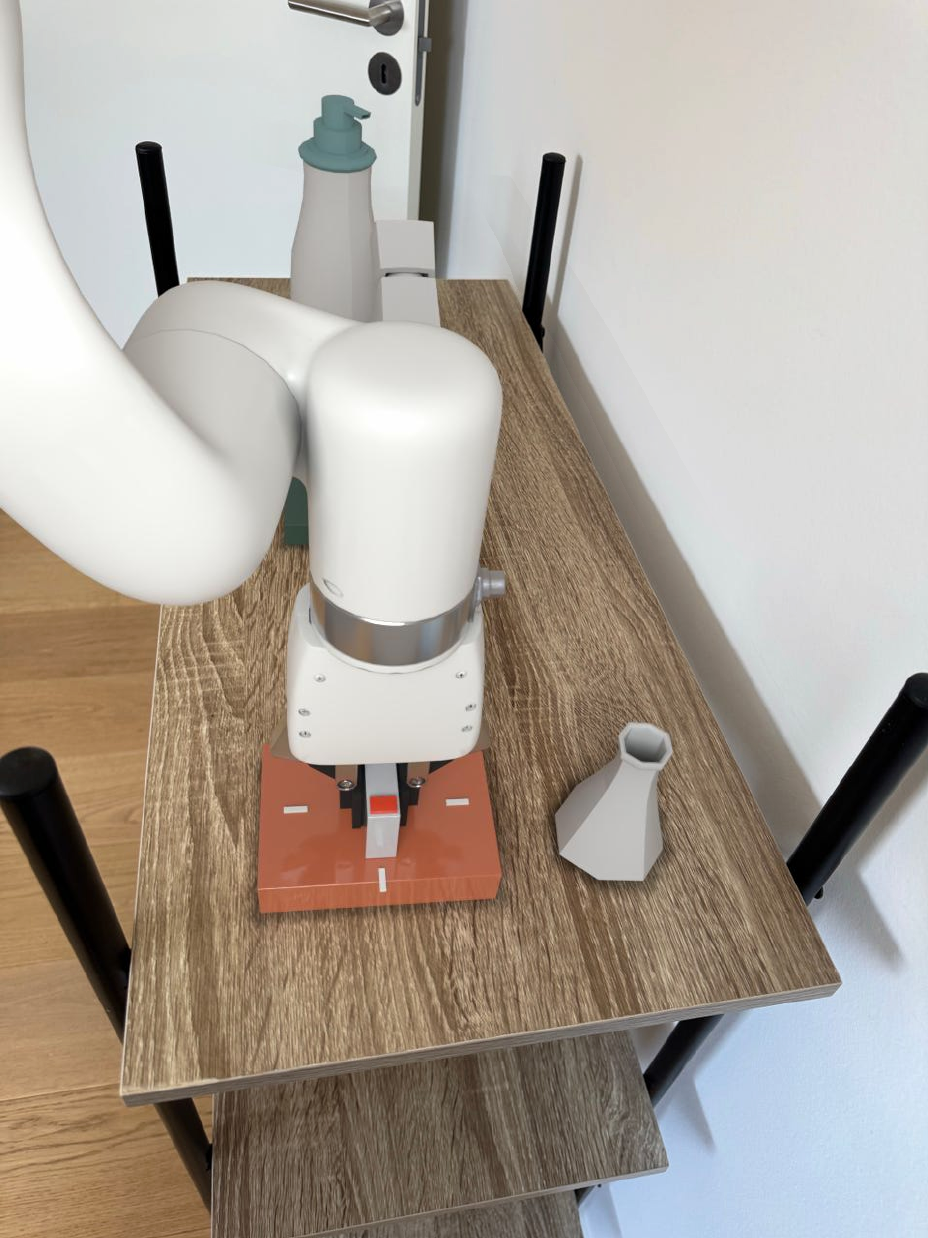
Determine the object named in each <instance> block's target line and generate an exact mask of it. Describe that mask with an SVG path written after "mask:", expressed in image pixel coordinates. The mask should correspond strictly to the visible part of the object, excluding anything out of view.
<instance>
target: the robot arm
mask: <svg viewBox="0 0 928 1238" xmlns="http://www.w3.org/2000/svg"><path fill="white" fill-rule="evenodd" d="M24 59H25V56H24V33H23V18H22V10H21V3H20V0H0V509H1V510H2V511H3V512H5V514H7V515H8V516H9V517H10V518H11V519H12V520H14V522H16V523H17V524H18V525H19V526H20V527H21V528H22V529H24V530H25V531H26V532H28V533H29V535H31V536H32V537H33V538H35V539H36V540H37V541H38V542H40V543H41V544H42V545H44V546H45V547H46V548H47V549H48V550H49V551H51V552H52V553H54V554H55V555H56V556H58V557H59V558H60V559H62V560H63V561H64V562H66V563H67V564H68V565H70V566H71V567H72V568H74V569H76V570H77V571H79V572H80V573H81V574H83V575H85V576H87V577H88V578H90V579H91V580H93V581H96V582H97V583H98V584H100V585H102V586H104V587H106V588H108V589H110V590H112V591H115V592H117V593H118V594H122V595H123V596H126V597H129V598H131V599H133V600H134V599H135V600H137V601H140V602H144V603H148V604H153V605H160V606H169V607H188V606H189V607H190V606H197V605H198V606H199V605H202V604H205V603H209V602H213V601H216V600H219V599H222V598H223V597H225V596H226V595H229V594H230V593H232V592H234V591H235V590H237V589H238V588H240V587H241V586H242V585H243V584H244V583H246V581H248V579H249V578H251V577H252V575H254V573H255V572H256V571H257V570H258V568H259V566H260V565H261V563H262V562H263V560H264V559H265V557H266V555H267V554H268V552H269V551H270V548H271V545H272V542H273V539H274V537H275V534H276V532H277V531H276V530H277V527H278V525H279V522H280V519H281V516H282V513H283V510H284V508H285V501H286V497H287V494H288V490H289V487H290V483H291V479H292V476H293V477H296V478H298V479H299V480H301V482H302V483H303V484H304V485H305V487H306V490H307V497H308V522H309V545H308V557H309V558H308V559H309V561H308V563H309V567H308V568H309V570H308V571H309V581H308V582H306V583H305V584H304V585H303V586H302V587H301V588H300V590H299V591H298V593H297V594H296V596H295V600H294V604H293V607H292V611H291V617H290V620H289V627H288V628H289V629H288V636H287V645H286V646H287V647H286V681H285V682H286V684H285V685H286V687H285V688H286V691H285V692H286V693H285V694H286V708H285V710H284V712H283V713H282V714H281V717H280V718H279V720H278V722H277V723H276V724H275V726H274V728H273V729H272V731H271V733H270V740H269V741H270V742H269V744H270V754H271V756H273V757H275V758H279V759H285V760H290V761H295V762H300V763H302V762H306V763H308V765H309V766H310V767H312V768H313V769H315V770H317V771H319V772H321V773H323V774H325V775H327V776H329V777H331V778H333V779H335V786H336V788H337V789H339V793H340V809H351V813H352V829H356V828H361V826H364V816H365V796H366V791H365V772H364V764H382V763H396V768H397V780H398V792H399V804H400V825H399V826H406V823H407V814H408V806H414V805H418V799H419V791H420V787H422V786H424V785H426V784H427V782H428V776H429V774H431V773H432V772H434V771H436V770H438V769H439V768H441V767H443V766H445V765H446V764H448V763H450V762H452V761H453V760H454V759H455V758H459V757H462V756H464V755H468V754H471V753H475V752H479V751H482V752H483V751H485V750H488V749H490V748H491V746H492V742H491V736H490V735H491V734H490V730H489V725H488V722H487V721H486V719H485V717H484V715H483V709H484V707H483V705H484V692H485V674H486V673H485V672H486V671H485V670H486V668H485V667H486V663H485V662H486V661H485V657H486V656H485V655H486V654H485V653H486V652H485V651H486V650H485V633H484V632H485V631H484V630H485V627H484V626H485V625H484V613H483V606H482V602H489V600H490V599H504V598H505V594H506V574H505V571H504V569H489V567H487V566H481V561H480V556H481V549H482V543H483V535H484V530H485V524H486V517H487V511H488V506H489V505H488V504H489V497H490V493H491V485H492V479H493V474H494V466H495V462H496V455H497V448H498V442H499V436H500V429H501V425H502V424H501V422H502V415H503V403H504V395H503V388H502V384H501V380H500V376H499V374H498V371H497V369H496V368H495V366H494V364H493V363H492V361H491V359H490V358H489V357H488V355H487V354H486V353H485V352H484V351H483V350H482V349H481V348H480V347H479V346H477V345H476V344H474V343H473V342H472V341H471V340H469V339H467V338H466V337H464V336H463V335H461V334H459V333H457V332H455V331H453V330H450V329H447V328H445V327H442V326H441V327H439V326H435V325H432V324H427V323H421V322H415V321H404V320H388V321H377V322H371V323H363V322H360V321H356V320H352V319H349V318H345V317H342V316H338V315H335V314H332V313H329V312H326V311H323V310H320V309H316V308H313V307H310V306H307V305H304V304H301V303H298V302H295V301H292V300H290V298H286V297H284V296H280V295H277V294H275V293H272V292H268V291H266V290H262V289H259V288H255V287H252V286H249V285H244V284H240V283H236V282H230V281H222V280H216V279H215V280H214V279H213V280H210V279H209V280H194V281H189V282H185V283H181V284H179V285H176V286H174V287H171V288H170V289H168V290H166V291H165V292H163V294H161V295H159V296H158V297H157V298H156V299H154V300H153V301H152V303H150V305H149V306H148V307H147V309H146V310H145V311H144V313H143V314H142V315H141V317H139V320H138V322H137V323H136V325H135V326H134V328H133V329H132V332H131V334H130V335H129V337H127V340H126V342H125V344H124V345H123V347H122V348H121V347H120V346H119V344H118V343H117V342H116V340H115V339H114V338H113V336H112V335H111V334H110V333H109V330H107V329H106V327H105V326H104V324H103V323H102V321H101V320H100V318H99V316H98V315H97V314H96V312H95V310H94V309H93V307H92V306H91V304H90V303H89V301H88V299H87V298H86V297H85V295H84V294H83V292H82V290H81V287H80V286H79V284H78V282H77V280H76V278H75V277H74V275H73V273H72V271H71V269H70V266H68V264H67V261H66V260H65V258H64V256H63V253H62V251H61V249H60V247H59V244H58V242H57V241H58V240H57V239H56V236H55V234H54V231H53V230H52V227H51V225H50V221H49V219H48V217H47V214H46V210H45V206H44V204H43V200H42V196H41V194H40V191H39V187H38V185H37V180H36V176H35V175H36V174H35V171H34V166H33V161H32V156H31V151H30V145H29V138H28V137H29V135H28V127H27V120H26V93H25V92H26V90H25V87H26V86H25V61H24Z"/></svg>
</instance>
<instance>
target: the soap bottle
mask: <svg viewBox="0 0 928 1238" xmlns="http://www.w3.org/2000/svg"><path fill="white" fill-rule="evenodd" d="M320 101H321V106H320V107H321V108H320V109H321V116H319V117H316V118H315V119H314V120H313V124H312V125H313V126H312V127H313V136H311V137H310V138H309V139H307V140H304V141H302V142H301V143H300V144H299V146H298V148H297V150H298V155H299V158H300V159H301V160H302V165H303V188H302V199H301V205H300V206H301V207H300V210H299V215H298V220H297V226H296V228H295V233H294V237H293V242H292V246H291V251H290V274H289V278H290V279H289V296H290V298H289V299H290V300H292V301H295V302H298V303H301V304H304V305H307V306H310V307H313V308H316V309H320V310H323V311H326V312H329V313H332V314H335V315H338V316H342V317H345V318H349V319H352V320H356V321H360V322H363V323H371V322H372V318H373V313H374V308H375V303H376V295H375V285H374V275H373V265H372V255H371V245H370V237H371V232H372V228H373V226H374V224H375V222H376V220H375V215H374V209H373V205H372V170H373V165H374V164H375V162H376V160H377V159H378V156H377V153H376V150H375V148H374V147H372V146H371V145H369V144H367V143H366V142H365V141H363V125H362V123H361V122H360V121H359V120H361V121H362V120H367V119H370V118H371V115H372V112H371V111H369V110H368V109H367V110H366V109H364V108H363V107H361V106H358V105H356V104H355V100H354V99H353V98H352V97H350V96H346V95H341V94H326V95H324V96H322V97H321V100H320ZM357 119H358V120H357Z"/></svg>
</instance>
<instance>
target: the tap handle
mask: <svg viewBox="0 0 928 1238" xmlns="http://www.w3.org/2000/svg"><path fill="white" fill-rule="evenodd" d="M364 772H365V791H366V796H365V816H364V839H365V857H366V858H382V857H396V855H397V845H398V835H399V825H400V804H399V792H398V780H397V768H396V763H382V764H364Z"/></svg>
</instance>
